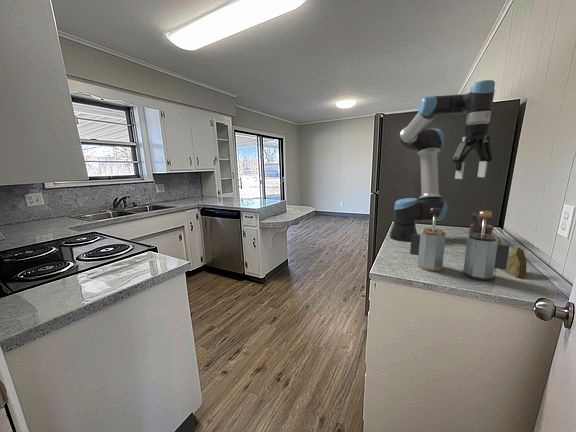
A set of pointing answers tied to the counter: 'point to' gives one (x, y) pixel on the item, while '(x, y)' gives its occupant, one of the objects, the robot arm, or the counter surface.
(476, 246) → the gray faceted mug
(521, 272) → the rock
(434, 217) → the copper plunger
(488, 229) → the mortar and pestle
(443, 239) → the grey faceted cylinder
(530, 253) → the counter surface
